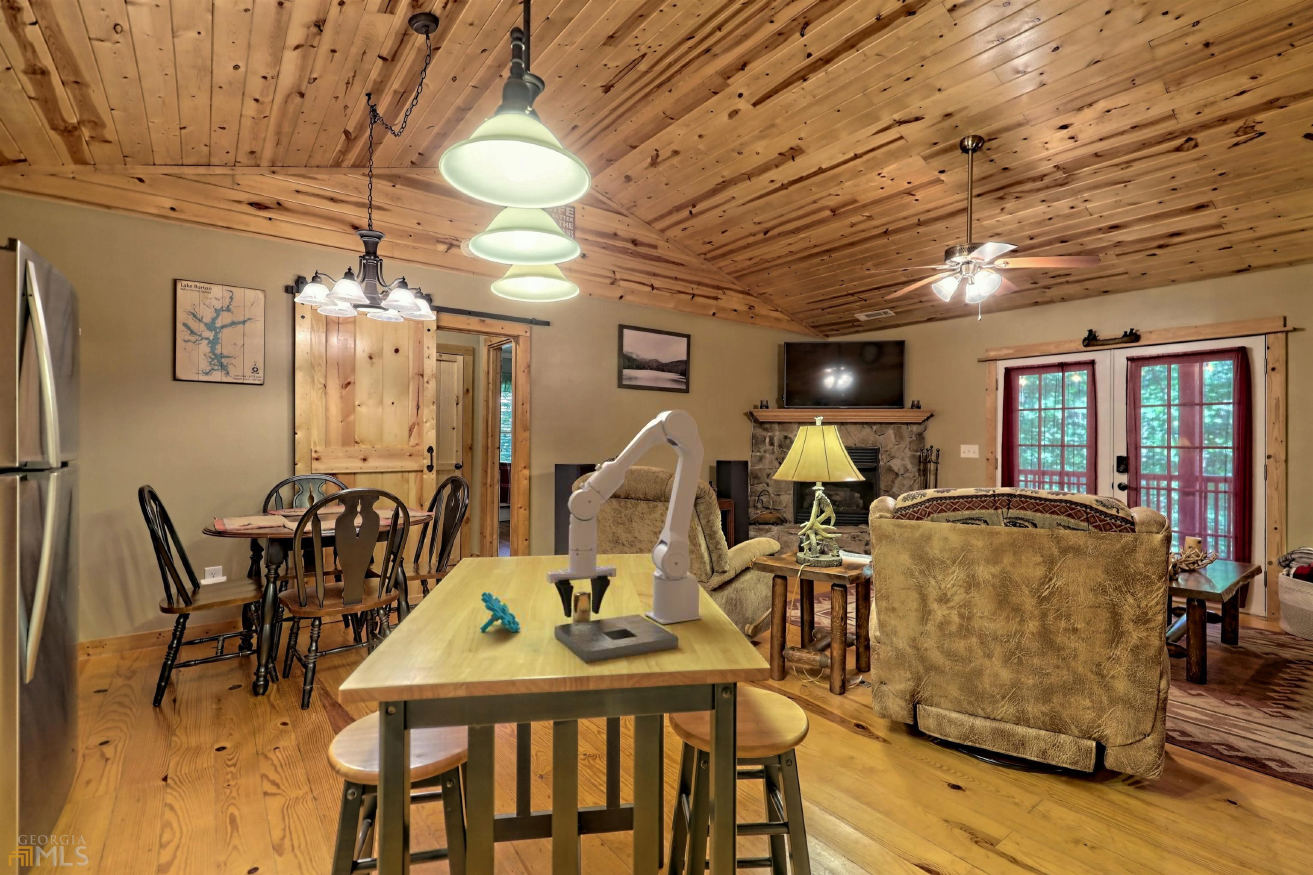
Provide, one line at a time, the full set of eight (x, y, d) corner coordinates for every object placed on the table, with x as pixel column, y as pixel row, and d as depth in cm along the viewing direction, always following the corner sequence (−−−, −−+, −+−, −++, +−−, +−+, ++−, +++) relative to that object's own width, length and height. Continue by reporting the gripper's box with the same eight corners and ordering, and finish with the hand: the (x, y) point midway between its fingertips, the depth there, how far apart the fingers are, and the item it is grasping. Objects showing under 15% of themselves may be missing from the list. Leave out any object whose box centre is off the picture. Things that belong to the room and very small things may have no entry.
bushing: (586, 618, 132) (586, 589, 132) (593, 623, 129) (593, 593, 129) (570, 621, 131) (570, 591, 131) (576, 625, 128) (577, 595, 128)
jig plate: (638, 623, 130) (638, 614, 130) (678, 647, 116) (678, 636, 116) (554, 636, 121) (554, 625, 121) (586, 663, 107) (586, 651, 107)
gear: (517, 631, 118) (481, 592, 119) (493, 654, 118) (457, 614, 118) (527, 621, 129) (493, 586, 130) (505, 642, 129) (472, 606, 129)
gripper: (607, 542, 137) (605, 605, 137) (542, 547, 130) (541, 613, 130) (621, 548, 131) (619, 613, 131) (554, 553, 124) (553, 622, 124)
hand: (581, 614), depth 130 cm, fingers open, 5 cm apart
